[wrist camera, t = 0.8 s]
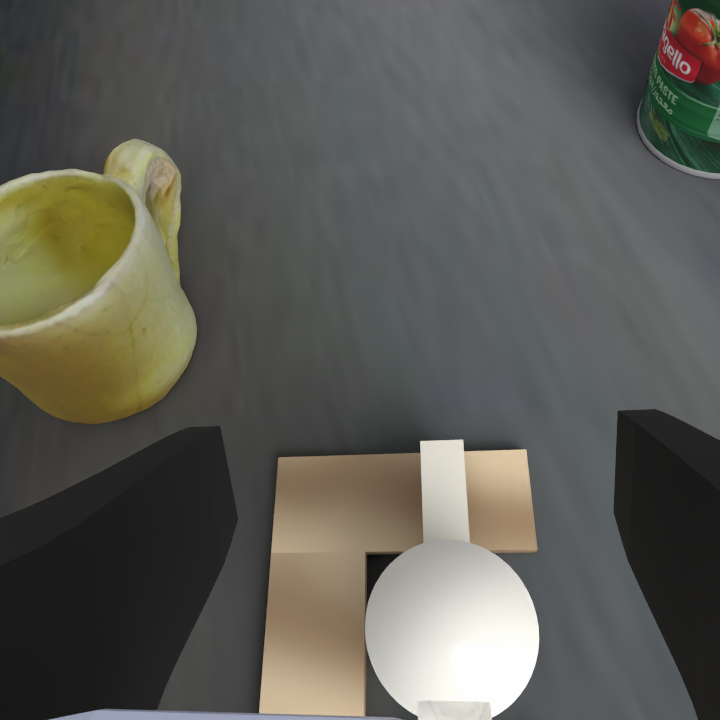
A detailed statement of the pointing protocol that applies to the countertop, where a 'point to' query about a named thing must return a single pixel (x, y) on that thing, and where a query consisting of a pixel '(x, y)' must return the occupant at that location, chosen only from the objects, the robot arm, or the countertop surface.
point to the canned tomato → (685, 91)
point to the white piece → (450, 610)
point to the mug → (94, 286)
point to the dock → (360, 561)
